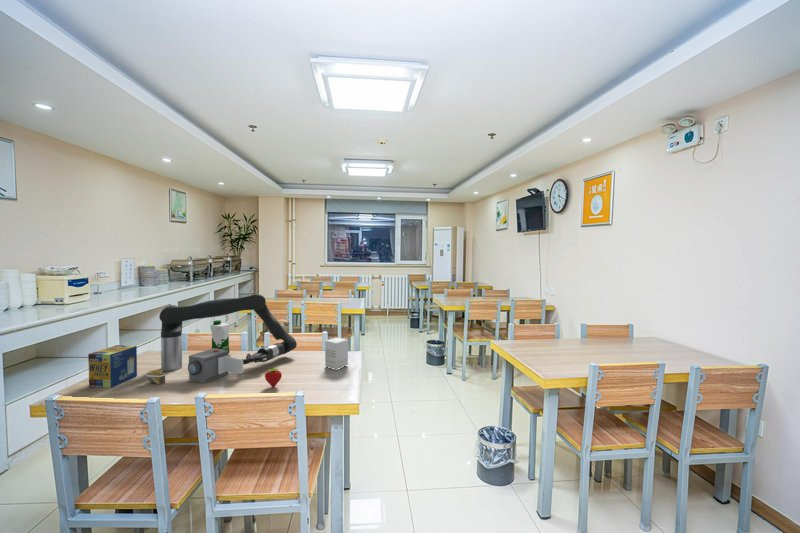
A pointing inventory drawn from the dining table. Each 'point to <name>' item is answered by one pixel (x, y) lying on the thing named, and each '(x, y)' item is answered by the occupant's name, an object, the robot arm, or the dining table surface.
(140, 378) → the dining table surface
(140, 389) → the dining table surface
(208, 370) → the camera body
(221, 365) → the hatch
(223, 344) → the milk carton
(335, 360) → the supplement box
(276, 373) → the strawberry
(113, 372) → the protein box
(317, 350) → the dining table surface
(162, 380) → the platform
